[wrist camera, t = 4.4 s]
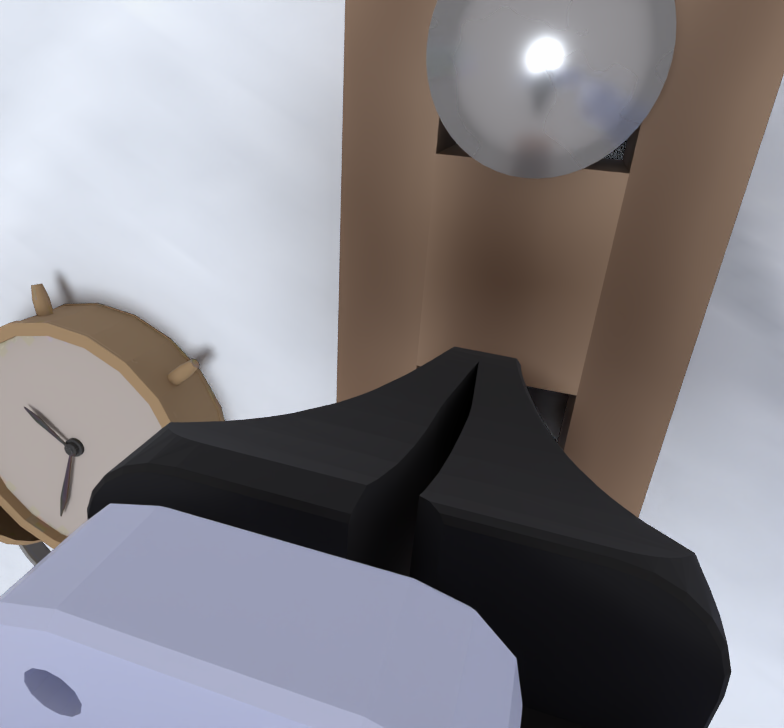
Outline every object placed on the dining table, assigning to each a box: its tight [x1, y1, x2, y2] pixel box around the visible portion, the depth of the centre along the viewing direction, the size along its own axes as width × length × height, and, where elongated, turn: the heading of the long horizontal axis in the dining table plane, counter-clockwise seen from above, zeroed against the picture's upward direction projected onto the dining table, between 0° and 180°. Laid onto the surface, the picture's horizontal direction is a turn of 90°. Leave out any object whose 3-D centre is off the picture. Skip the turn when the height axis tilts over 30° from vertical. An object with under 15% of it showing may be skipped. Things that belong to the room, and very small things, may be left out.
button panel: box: [337, 0, 784, 517], centre depth 17 cm, size 10×22×3 cm, turn 177°
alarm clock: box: [0, 284, 225, 566], centre depth 26 cm, size 11×5×15 cm
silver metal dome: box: [426, 0, 676, 179], centre depth 14 cm, size 5×5×4 cm
